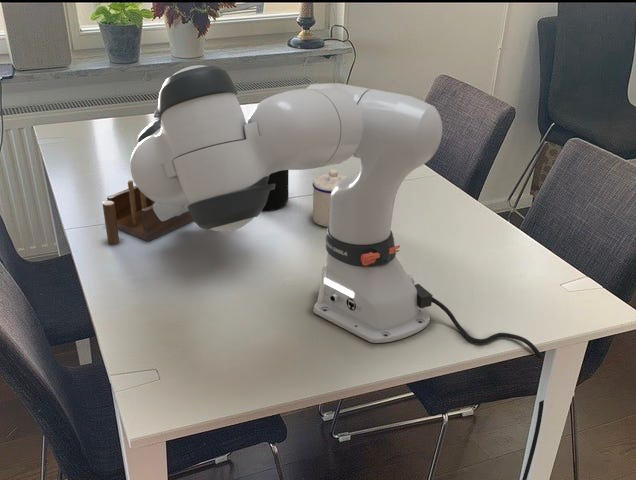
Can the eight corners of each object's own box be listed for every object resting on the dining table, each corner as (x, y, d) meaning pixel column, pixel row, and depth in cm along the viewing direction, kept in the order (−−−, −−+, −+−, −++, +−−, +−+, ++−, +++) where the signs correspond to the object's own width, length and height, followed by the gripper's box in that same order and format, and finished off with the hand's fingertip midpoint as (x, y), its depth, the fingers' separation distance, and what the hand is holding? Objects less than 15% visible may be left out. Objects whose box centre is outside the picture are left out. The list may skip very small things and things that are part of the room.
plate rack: (200, 217, 174) (196, 169, 167) (148, 241, 163) (142, 191, 157) (163, 204, 180) (158, 156, 173) (111, 226, 169) (104, 177, 162)
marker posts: (200, 206, 179) (198, 169, 174) (113, 245, 161) (107, 206, 156) (193, 203, 180) (190, 166, 175) (105, 242, 162) (99, 203, 157)
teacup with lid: (355, 226, 171) (358, 177, 164) (316, 229, 169) (317, 179, 163) (343, 205, 180) (345, 157, 174) (305, 208, 179) (306, 160, 172)
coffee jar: (297, 202, 181) (298, 127, 171) (266, 215, 175) (264, 138, 165) (266, 190, 187) (265, 117, 177) (234, 202, 181) (231, 127, 170)
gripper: (235, 152, 161) (205, 184, 171) (165, 180, 147) (136, 214, 158) (252, 177, 161) (220, 208, 171) (183, 208, 148) (153, 239, 158)
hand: (179, 211), depth 164 cm, fingers closed
